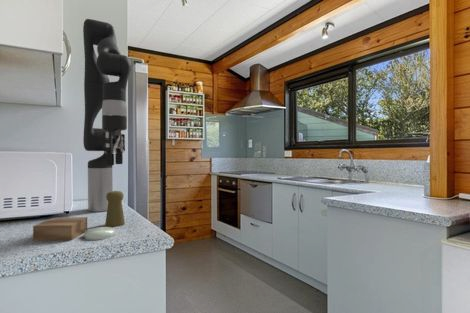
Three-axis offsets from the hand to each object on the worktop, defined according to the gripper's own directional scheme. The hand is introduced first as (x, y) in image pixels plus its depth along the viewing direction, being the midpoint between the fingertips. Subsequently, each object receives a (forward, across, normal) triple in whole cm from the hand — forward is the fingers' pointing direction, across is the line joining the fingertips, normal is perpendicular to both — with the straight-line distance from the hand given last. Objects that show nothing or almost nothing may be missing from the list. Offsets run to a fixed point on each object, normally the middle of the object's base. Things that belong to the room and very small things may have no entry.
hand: (114, 164), depth 98 cm
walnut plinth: (+20, +12, -11) cm, 26 cm away
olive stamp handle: (+20, 0, 0) cm, 20 cm away
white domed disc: (+20, +13, 0) cm, 24 cm away
